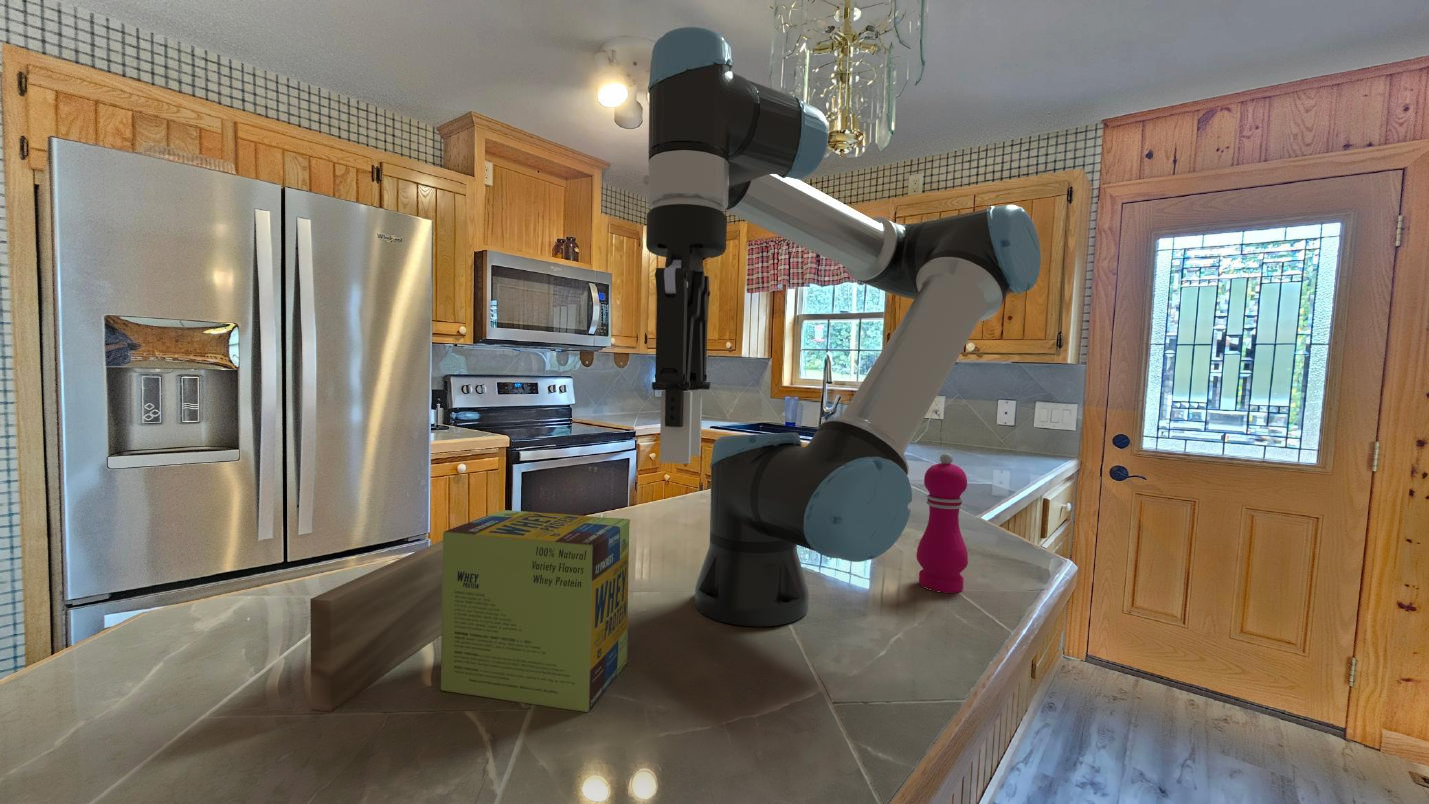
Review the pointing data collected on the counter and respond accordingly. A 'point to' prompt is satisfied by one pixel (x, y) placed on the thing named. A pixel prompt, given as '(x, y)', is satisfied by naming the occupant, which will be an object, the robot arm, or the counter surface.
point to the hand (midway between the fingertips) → (681, 458)
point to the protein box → (535, 607)
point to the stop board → (373, 625)
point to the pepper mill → (943, 529)
